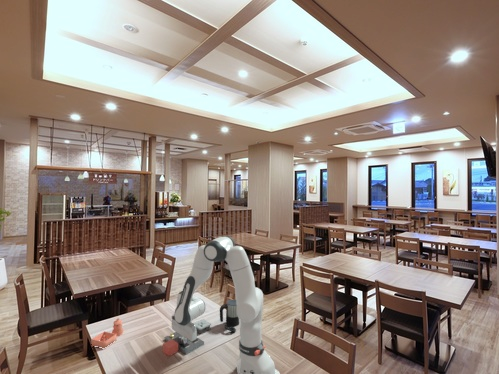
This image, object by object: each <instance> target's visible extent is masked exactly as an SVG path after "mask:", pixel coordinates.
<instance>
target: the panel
mask: <svg viewBox="0 0 499 374" xmlns="http://www.w3.org/2000/svg"><path fill="white" fill-rule="evenodd" d="M179 336H180V334H179V333H177V332H176V331H174V332H173V333H170V334H169V335H166V336H165V337H164V338H163V339H164V341H165V342H167V341H169V340H171V339H173V340H174V341H176V342H177V337H179ZM177 343H178V342H177ZM204 345H205V341H204V340H202V339H200V338H198V337H197V338H196V340H194V341H190V340H188V339H187V342H186V343H185V344H184V343H182V344H179V343H178V351H179V352H181V353H183V354H184V355H188V354H189V353H191V352H193V351H195V350H197V349H198V348H200V347H202V346H204Z"/></svg>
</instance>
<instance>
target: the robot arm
mask: <svg viewBox="0 0 499 374" xmlns="http://www.w3.org/2000/svg"><path fill="white" fill-rule="evenodd" d="M224 261H225V262H226V263H227V264H228V268H229V272H230V275H231V278H232V281H233V285H234V286H233V287H234V292H235V293H234V294H235V295H234V296H235V300H236V303H237V316H238V318H239V321H240V323H239V342H238V349H239V353H238V354H239V355H238V361H237V366H236V373H237V374H281V373H280V371H279V370H278V369H276V366H275V362H274V360H273V359H272V356H270V354H268V353H267V351H266V350H265V348H266V344H263V340H262V325H263V324H262V323H263V315H264V313H263V312H264V311H263V310H264V293H263V290H262V289H260V288H259V287H256V284H255V277H254V272H253V269H252V266H251V263H250V259H249V257H248V255H247V252H246V251H245V248H244V247H242V246H241V245H236V243H235V240H234V239H233V238H232V237H231V236H230V235H222V236H220V237H216V238H214V239H212V240H210V241H208V242H207V243H206V244H204V245H200V246H199V247H198V248H197V250H196V253H195V256H194V258H193V263H192V268H191V270H190V273H189V275H188V277H187V278H186V280H185V282H184V285H183V289H182V290H181V291H179V293H178V294H177V296H176V308H175V310H174V312H173V313H174V314H172V315H171V329H172V331H174V332H177V333H179V334H180V337H181V342H182V343H184V344H185V343H186V342H187V339H188V340H190V341H194V340H196V338H198V332H197V330H196V326H195V325H194V323H195V322H192V321H194V320H196V319H197V318H199V317H201V316H203V314H205V312H206V304H205V301H204V300H203V299H202V298H200V297H197V296H196V295H195V292H196V290H198V288H200V287H201V286H202V284H204V283H205V282H207V281H208V280H209V278H211V275H212V272H213V268H214V264H215V263H214V262H219V263H220V262H222V263H223V262H224Z"/></svg>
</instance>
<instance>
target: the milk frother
mask: <svg viewBox="0 0 499 374" xmlns="http://www.w3.org/2000/svg"><path fill="white" fill-rule="evenodd" d="M224 309H226V310H225V311H226V312H225V313H226V314H225V316H226V317H225V325H224V328H225V329H226V330H227V331H230V332H232V333H235V332H237V329H236V327H238V326H240V319H239V318H238V316H237V303H236V299H229V300H227V301H226V303H225V304H222V305H220V307H219V320H220V322H221V323H222V322H224Z"/></svg>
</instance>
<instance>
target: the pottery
mask: <svg viewBox="0 0 499 374" xmlns="http://www.w3.org/2000/svg"><path fill="white" fill-rule="evenodd" d="M115 319H116V320H115V321H113V326H112V332H110V331H109V332H108V331H103V332H101V333H100V334H98V335H96V336H95V337H93V338H91V339H90V347H91V348H92V347H93V346H98V347H102V348H105V347H107V346H108V345H110V344H111V343H112V344H114V343H115V342H116V341H117V337H116V336H118V337H121V336H123V333H124V328H123V321H122V320H121V319H120V318H115ZM102 338H103V339H102ZM106 338H108V339H106ZM101 339H102V340H101ZM99 340H101V341H99ZM102 341H103V342H102ZM114 341H115V342H114ZM113 342H114V343H113ZM91 344H92V345H91ZM112 344H111V345H112ZM111 345H110V346H111ZM108 347H109V346H108ZM108 347H107V348H108ZM93 348H94V347H93ZM105 349H106V348H105Z"/></svg>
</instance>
